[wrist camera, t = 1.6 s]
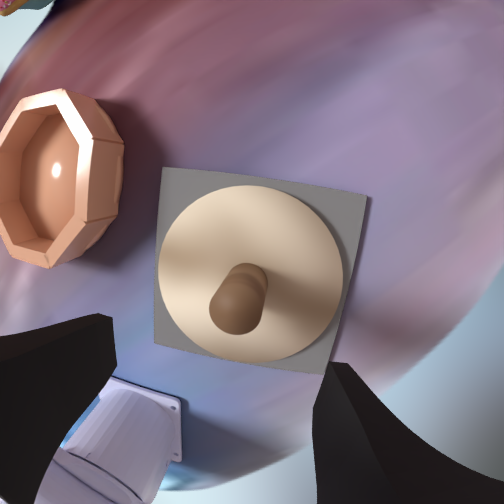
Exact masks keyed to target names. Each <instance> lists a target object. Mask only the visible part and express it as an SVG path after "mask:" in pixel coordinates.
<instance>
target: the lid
mask: <svg viewBox="0 0 504 504" xmlns="http://www.w3.org/2000/svg"><path fill="white" fill-rule="evenodd" d="M158 279H159V285H160V290H161V294H162V297H163V301H164V303H165V305H166V308H167V310H168V312H169V313H170V315H171V317H172V319H173V320H174V322H175V323H176V324H177V326H178V327H179V328H180V329H181V330H182V331H183V333H184V334H185V335H186V336H187V337H188V338H190V339H191V340H192V341H193V342H194V343H196V344H197V345H199V346H200V347H202V348H203V349H205V350H207V351H209V352H211V353H213V354H215V355H217V356H220V357H222V358H225V359H229V360H233V361H238V362H246V363H262V362H270V361H275V360H279V359H282V358H285V357H288V356H291V355H293V354H295V353H297V352H299V351H301V350H302V349H304V348H305V347H307V346H308V345H310V344H311V343H312V342H313V341H314V340H315V339H317V338H318V337H319V336H320V334H321V333H322V332H323V331H324V330H325V329H326V327H327V326H328V324H329V323H330V321H331V320H332V318H333V316H334V314H335V312H336V310H337V307H338V304H339V301H340V298H341V292H342V286H343V270H342V262H341V258H340V254H339V250H338V248H337V245H336V243H335V240H334V238H333V236H332V235H331V233H330V231H329V230H328V228H327V226H326V225H325V224H324V223H323V221H322V220H321V219H320V218H319V217H318V216H317V215H316V214H315V213H314V212H313V211H312V210H311V209H310V208H309V207H308V206H306V205H305V204H304V203H302V202H301V201H299V200H298V199H296V198H294V197H292V196H290V195H288V194H286V193H284V192H281V191H278V190H275V189H272V188H267V187H262V186H250V185H245V186H233V187H228V188H223V189H219V190H217V191H214V192H211V193H209V194H207V195H205V196H203V197H201V198H199V199H198V200H196V201H195V202H193V203H192V204H191V205H189V206H188V207H187V208H186V209H185V210H184V211H183V212H182V213H181V214H180V215H179V216H178V217H177V219H176V220H175V221H174V222H173V224H172V225H171V227H170V229H169V231H168V232H167V234H166V237H165V239H164V242H163V244H162V247H161V252H160V256H159V264H158Z"/></svg>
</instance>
